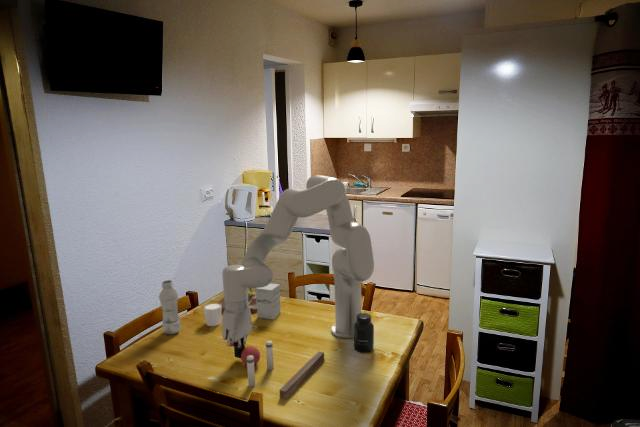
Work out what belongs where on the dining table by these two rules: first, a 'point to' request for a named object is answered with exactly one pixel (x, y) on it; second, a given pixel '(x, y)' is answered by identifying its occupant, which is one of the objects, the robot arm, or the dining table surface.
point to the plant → (251, 301)
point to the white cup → (213, 314)
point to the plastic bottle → (169, 308)
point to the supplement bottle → (363, 333)
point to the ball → (248, 352)
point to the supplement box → (268, 301)
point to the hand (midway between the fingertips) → (240, 356)
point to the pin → (269, 355)
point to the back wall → (301, 375)
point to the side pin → (250, 370)
